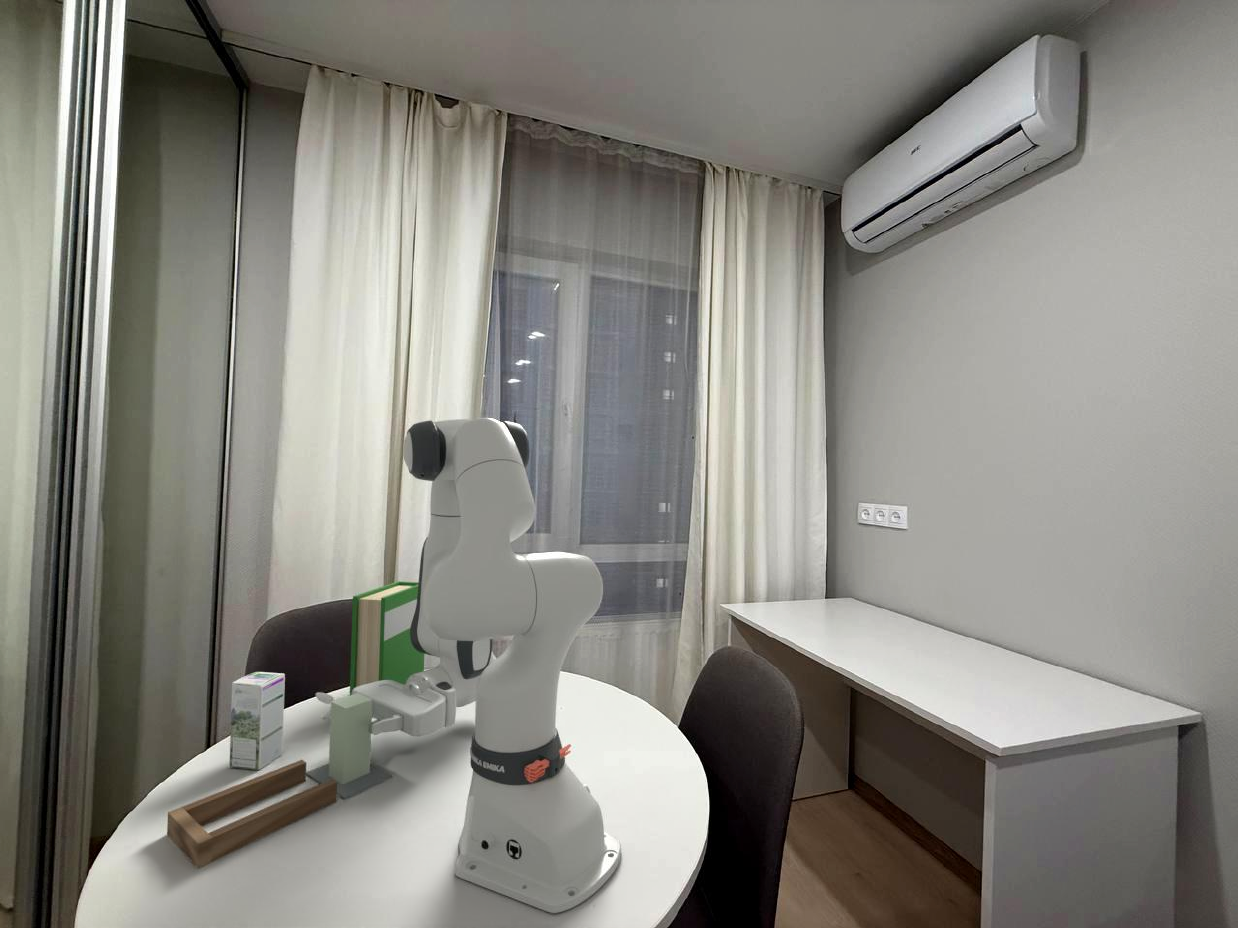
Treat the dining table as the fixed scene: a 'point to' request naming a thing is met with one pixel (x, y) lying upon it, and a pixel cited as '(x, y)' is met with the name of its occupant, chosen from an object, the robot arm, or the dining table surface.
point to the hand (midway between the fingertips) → (354, 721)
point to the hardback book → (384, 635)
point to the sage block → (350, 738)
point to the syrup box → (257, 720)
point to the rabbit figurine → (325, 699)
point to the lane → (252, 827)
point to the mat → (354, 785)
